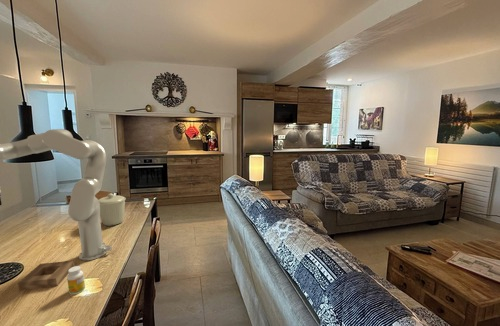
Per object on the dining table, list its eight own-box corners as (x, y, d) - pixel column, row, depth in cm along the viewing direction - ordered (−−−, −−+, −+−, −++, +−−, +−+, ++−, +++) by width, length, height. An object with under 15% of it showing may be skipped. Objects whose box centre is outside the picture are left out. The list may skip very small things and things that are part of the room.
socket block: (74, 267, 117) (73, 260, 117) (57, 285, 104) (56, 278, 103) (41, 270, 115) (40, 263, 114) (19, 290, 101) (17, 282, 101)
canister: (96, 230, 158) (92, 199, 155) (100, 220, 175) (96, 192, 171) (127, 225, 166) (124, 195, 162) (128, 216, 182) (125, 188, 179)
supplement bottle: (66, 293, 99) (62, 271, 98) (79, 285, 104) (76, 263, 103) (75, 296, 97) (71, 273, 96) (88, 287, 102) (85, 266, 101)
